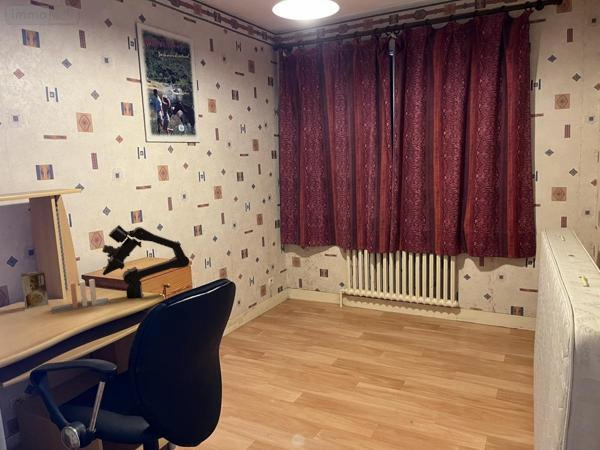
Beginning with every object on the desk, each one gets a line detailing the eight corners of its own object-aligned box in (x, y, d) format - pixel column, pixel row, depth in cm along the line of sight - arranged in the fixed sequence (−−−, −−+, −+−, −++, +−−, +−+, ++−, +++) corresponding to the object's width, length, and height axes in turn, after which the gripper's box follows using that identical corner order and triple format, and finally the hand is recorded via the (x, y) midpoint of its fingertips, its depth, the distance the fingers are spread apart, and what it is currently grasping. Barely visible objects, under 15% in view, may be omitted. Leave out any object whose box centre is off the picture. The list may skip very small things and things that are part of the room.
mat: (107, 299, 217) (107, 297, 217) (110, 304, 208) (110, 303, 207) (52, 308, 206) (51, 306, 206) (51, 314, 196) (51, 313, 196)
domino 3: (96, 301, 212) (93, 278, 210) (96, 304, 207) (94, 281, 206) (91, 302, 211) (89, 279, 209) (92, 304, 207) (89, 281, 205)
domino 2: (86, 302, 210) (84, 280, 208) (87, 305, 206) (85, 282, 204) (82, 303, 209) (79, 280, 207) (82, 306, 205) (80, 283, 203)
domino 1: (77, 304, 208) (74, 281, 207) (77, 307, 204) (75, 283, 202) (72, 305, 207) (70, 282, 206) (72, 308, 203) (70, 284, 201)
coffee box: (46, 302, 214) (42, 270, 212) (49, 305, 210) (45, 272, 207) (24, 307, 209) (20, 273, 207) (26, 310, 204) (22, 276, 202)
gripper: (110, 236, 218) (87, 261, 214) (114, 241, 202) (90, 268, 198) (128, 249, 223) (106, 274, 219) (134, 256, 207) (110, 282, 203)
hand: (103, 274), depth 210 cm, fingers closed
